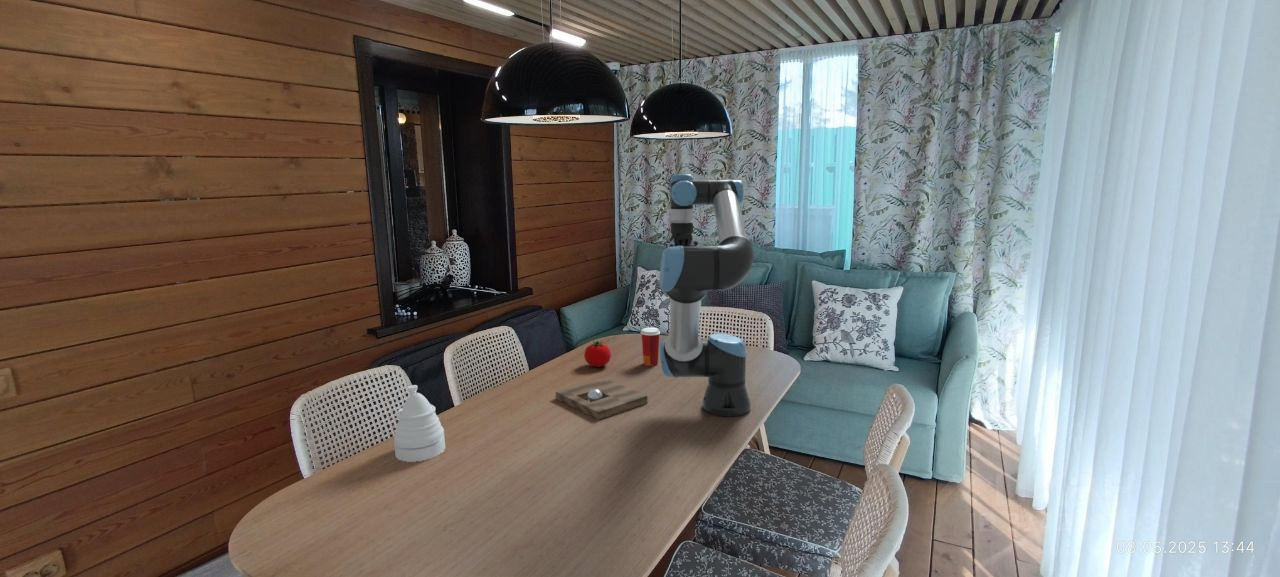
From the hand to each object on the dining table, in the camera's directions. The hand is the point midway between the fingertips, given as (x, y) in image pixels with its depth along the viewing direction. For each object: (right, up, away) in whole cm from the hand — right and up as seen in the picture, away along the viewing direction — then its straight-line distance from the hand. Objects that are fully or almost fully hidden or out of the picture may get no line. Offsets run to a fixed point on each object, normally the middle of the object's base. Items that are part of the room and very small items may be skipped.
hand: (682, 291), depth 199 cm
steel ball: (-29, -34, -7) cm, 45 cm away
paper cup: (-10, -29, +34) cm, 46 cm away
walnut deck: (-27, -36, -4) cm, 45 cm away
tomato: (-31, -30, +32) cm, 53 cm away
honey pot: (-74, -44, -38) cm, 94 cm away
